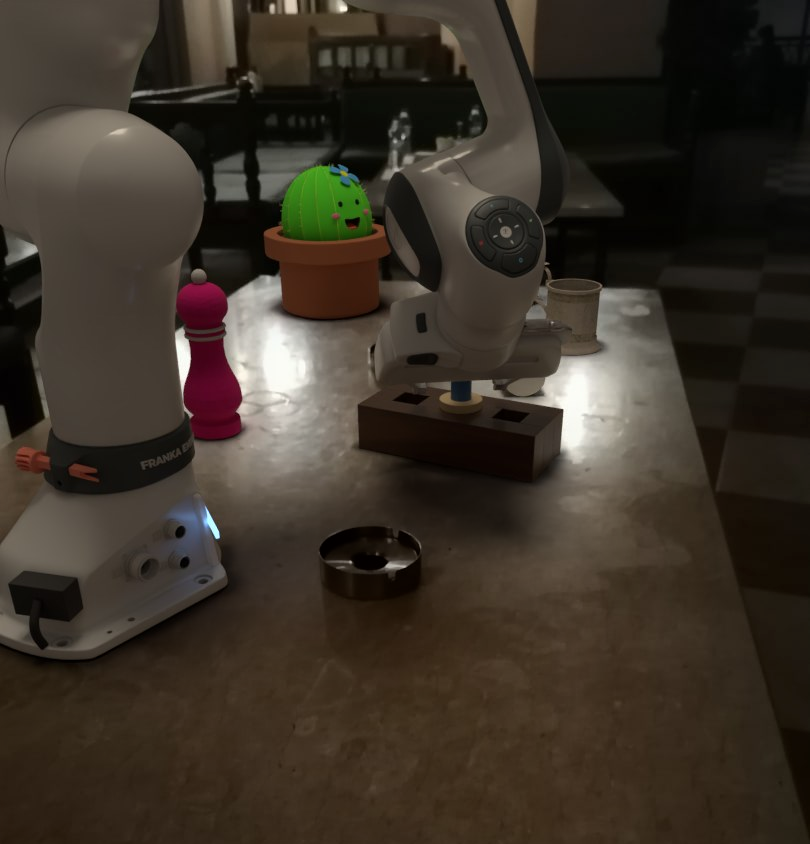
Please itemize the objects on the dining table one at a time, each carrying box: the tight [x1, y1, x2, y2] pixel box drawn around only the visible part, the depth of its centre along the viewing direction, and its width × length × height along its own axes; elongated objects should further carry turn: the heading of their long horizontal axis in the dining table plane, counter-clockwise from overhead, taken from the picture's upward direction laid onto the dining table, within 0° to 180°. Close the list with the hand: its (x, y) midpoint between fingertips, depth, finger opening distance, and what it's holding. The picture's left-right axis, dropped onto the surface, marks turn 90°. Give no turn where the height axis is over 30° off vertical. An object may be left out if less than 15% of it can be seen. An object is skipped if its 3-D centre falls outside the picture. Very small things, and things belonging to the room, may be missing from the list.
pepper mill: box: [176, 268, 243, 440], centre depth 110 cm, size 7×7×20 cm
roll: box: [506, 377, 547, 397], centre depth 128 cm, size 6×12×6 cm, turn 4°
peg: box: [439, 381, 482, 414], centre depth 105 cm, size 5×5×11 cm
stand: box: [357, 384, 565, 483], centre depth 107 cm, size 9×22×6 cm, turn 62°
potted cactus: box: [263, 161, 392, 320], centre depth 161 cm, size 22×22×25 cm
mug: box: [534, 261, 603, 356], centre depth 143 cm, size 14×10×12 cm
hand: (458, 386), depth 105 cm, fingers open, 8 cm apart
